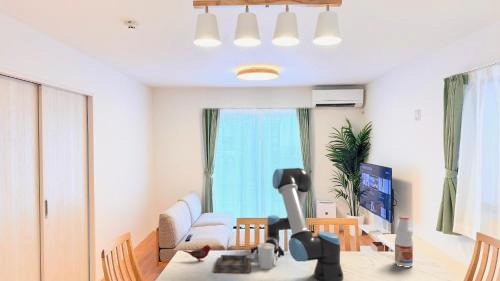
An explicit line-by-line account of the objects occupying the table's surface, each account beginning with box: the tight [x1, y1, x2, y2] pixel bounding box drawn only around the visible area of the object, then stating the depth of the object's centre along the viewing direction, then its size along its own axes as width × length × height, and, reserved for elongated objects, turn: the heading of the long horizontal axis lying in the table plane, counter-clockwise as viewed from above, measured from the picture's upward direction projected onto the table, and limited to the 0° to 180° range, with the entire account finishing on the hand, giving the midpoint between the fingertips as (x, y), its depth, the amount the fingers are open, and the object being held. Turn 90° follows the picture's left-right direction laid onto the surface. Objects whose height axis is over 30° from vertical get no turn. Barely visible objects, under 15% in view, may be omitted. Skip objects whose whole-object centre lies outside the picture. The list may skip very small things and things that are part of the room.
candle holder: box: [256, 242, 275, 270], centre depth 189 cm, size 10×10×12 cm
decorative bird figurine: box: [182, 244, 212, 263], centre depth 197 cm, size 3×18×10 cm, turn 83°
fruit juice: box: [394, 215, 414, 266], centre depth 192 cm, size 9×9×28 cm
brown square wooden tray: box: [212, 254, 252, 274], centre depth 190 cm, size 20×20×4 cm
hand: (264, 257), depth 186 cm, fingers open, 12 cm apart
